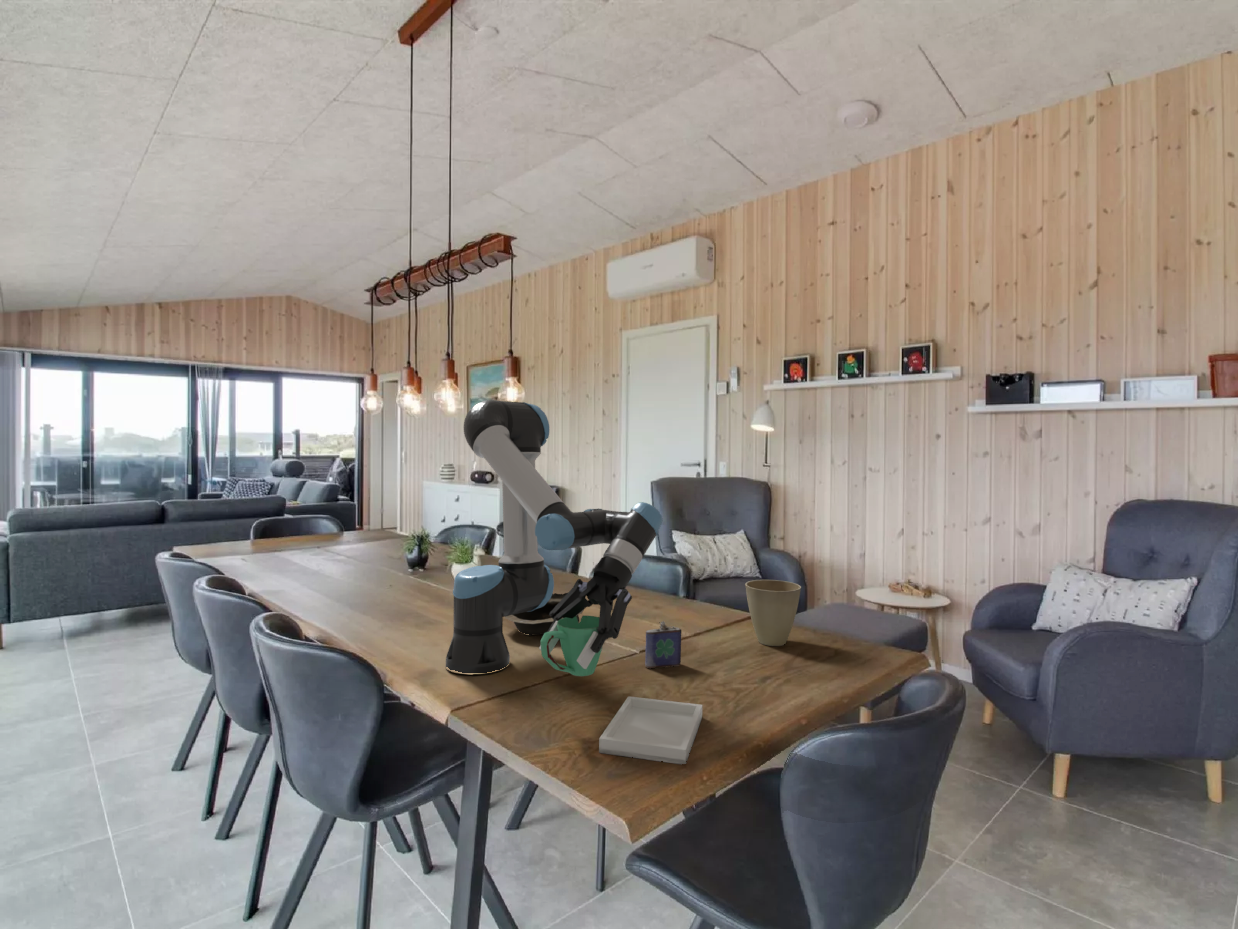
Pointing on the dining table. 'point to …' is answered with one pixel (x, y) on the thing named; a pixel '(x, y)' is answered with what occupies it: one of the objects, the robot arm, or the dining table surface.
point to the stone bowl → (537, 617)
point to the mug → (572, 644)
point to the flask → (663, 647)
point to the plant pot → (772, 609)
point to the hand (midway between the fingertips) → (561, 658)
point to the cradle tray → (652, 730)
